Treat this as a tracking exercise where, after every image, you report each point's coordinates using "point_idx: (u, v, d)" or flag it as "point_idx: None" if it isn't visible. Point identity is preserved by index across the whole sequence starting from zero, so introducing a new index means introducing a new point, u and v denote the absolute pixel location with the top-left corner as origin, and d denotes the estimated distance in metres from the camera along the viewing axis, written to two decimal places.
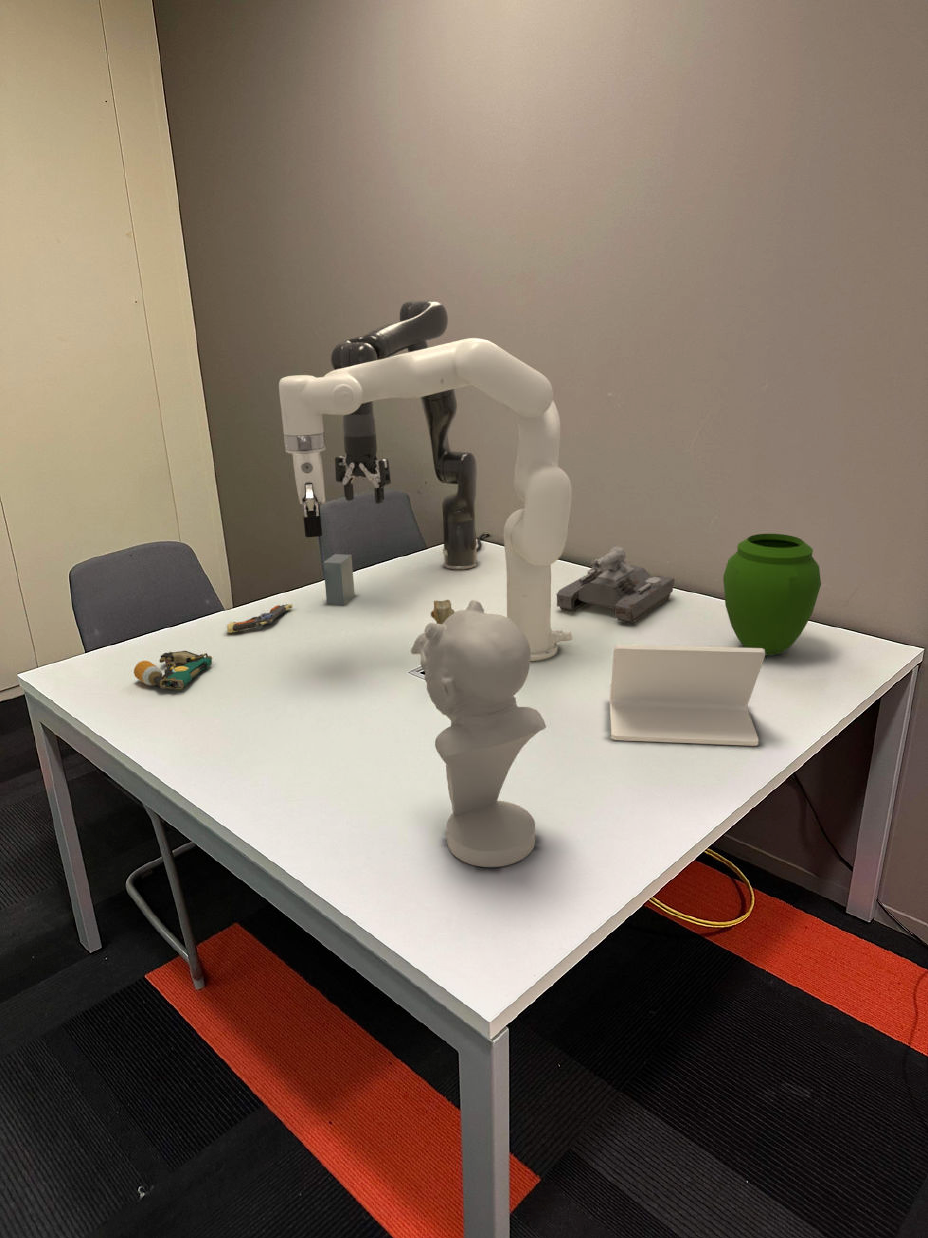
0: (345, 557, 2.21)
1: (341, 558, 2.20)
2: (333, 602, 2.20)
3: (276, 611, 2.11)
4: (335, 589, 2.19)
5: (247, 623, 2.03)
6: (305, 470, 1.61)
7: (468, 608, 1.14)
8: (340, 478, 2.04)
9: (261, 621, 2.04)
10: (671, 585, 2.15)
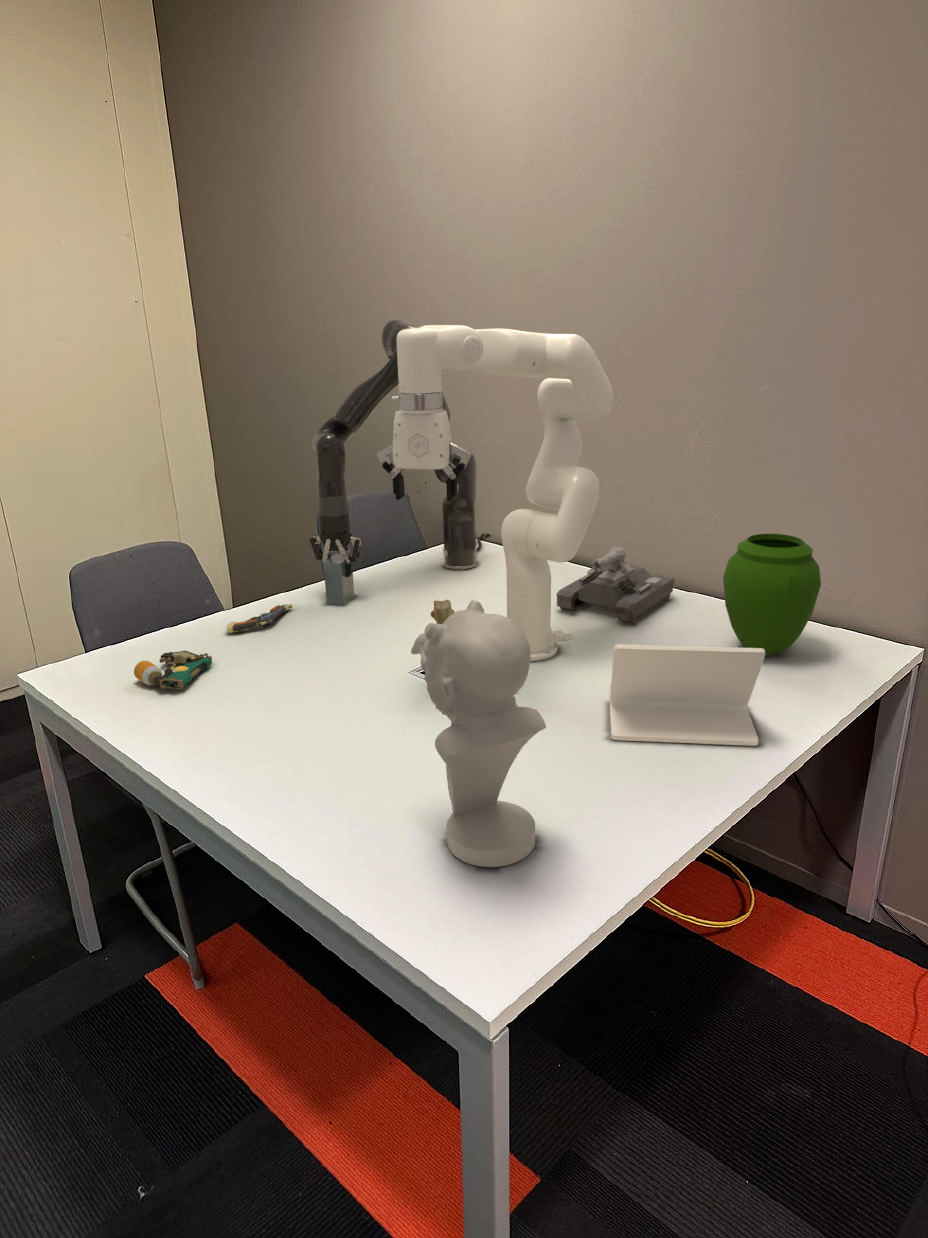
0: None
1: (340, 558, 2.20)
2: (333, 602, 2.20)
3: (276, 611, 2.11)
4: (335, 589, 2.19)
5: (247, 623, 2.03)
6: None
7: (468, 608, 1.14)
8: None
9: (261, 621, 2.04)
10: (671, 585, 2.15)
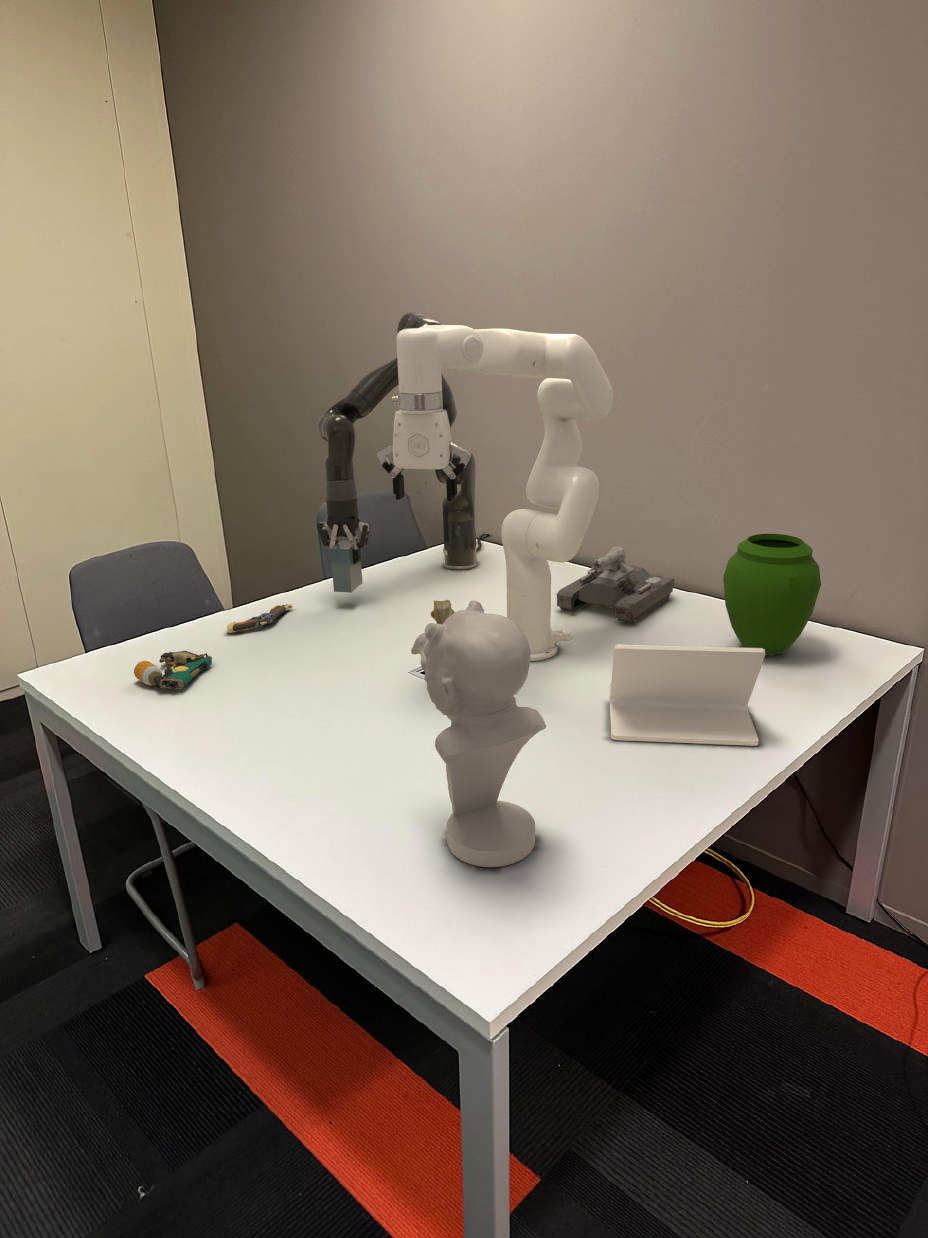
0: None
1: (348, 544, 2.15)
2: (340, 589, 2.15)
3: (276, 611, 2.11)
4: (342, 576, 2.13)
5: (247, 623, 2.03)
6: None
7: (468, 608, 1.14)
8: None
9: (261, 621, 2.04)
10: (671, 585, 2.15)
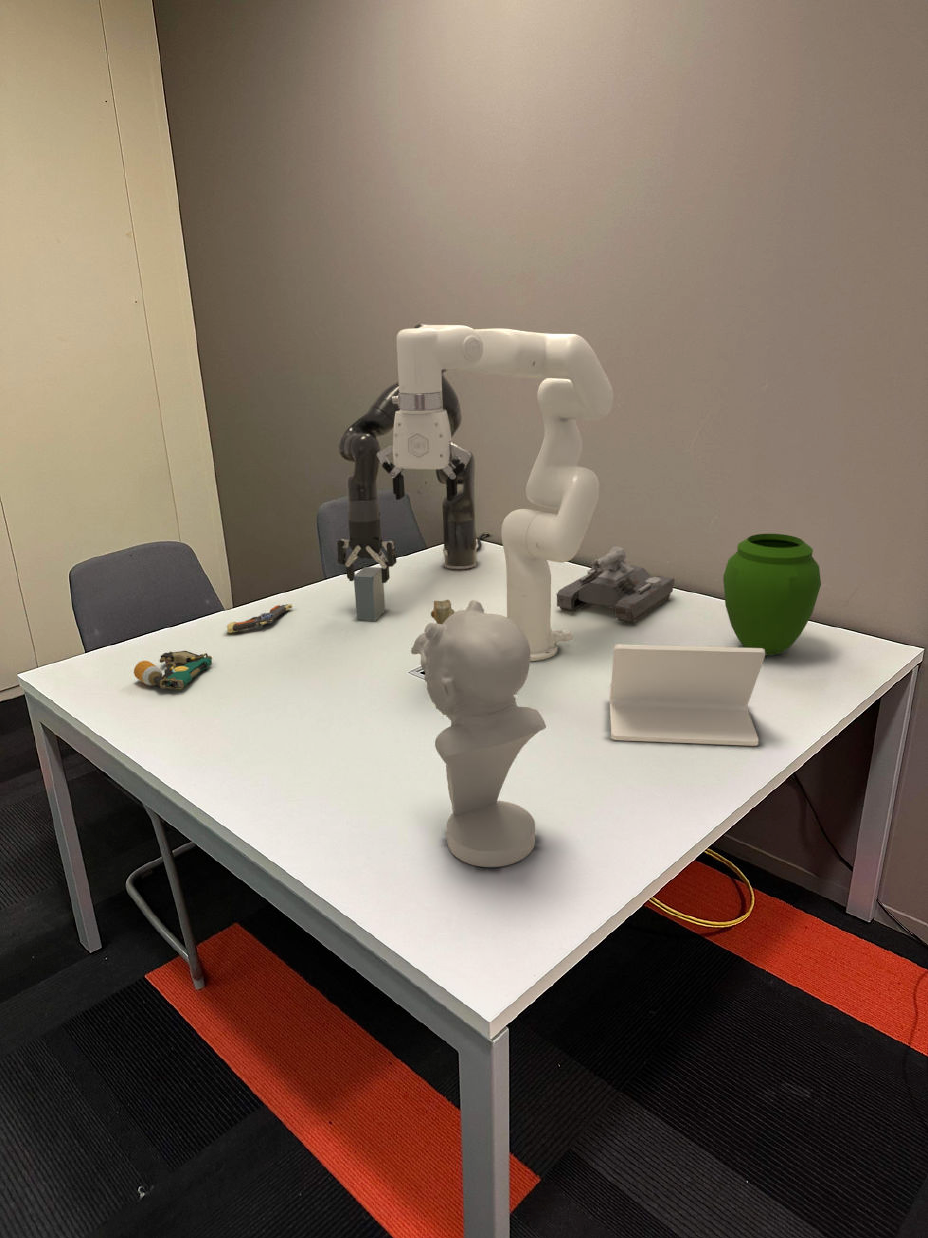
0: (376, 570, 2.09)
1: (371, 571, 2.09)
2: (364, 618, 2.09)
3: (276, 611, 2.11)
4: (365, 604, 2.07)
5: (247, 623, 2.03)
6: None
7: (468, 608, 1.14)
8: None
9: (261, 621, 2.04)
10: (671, 585, 2.15)
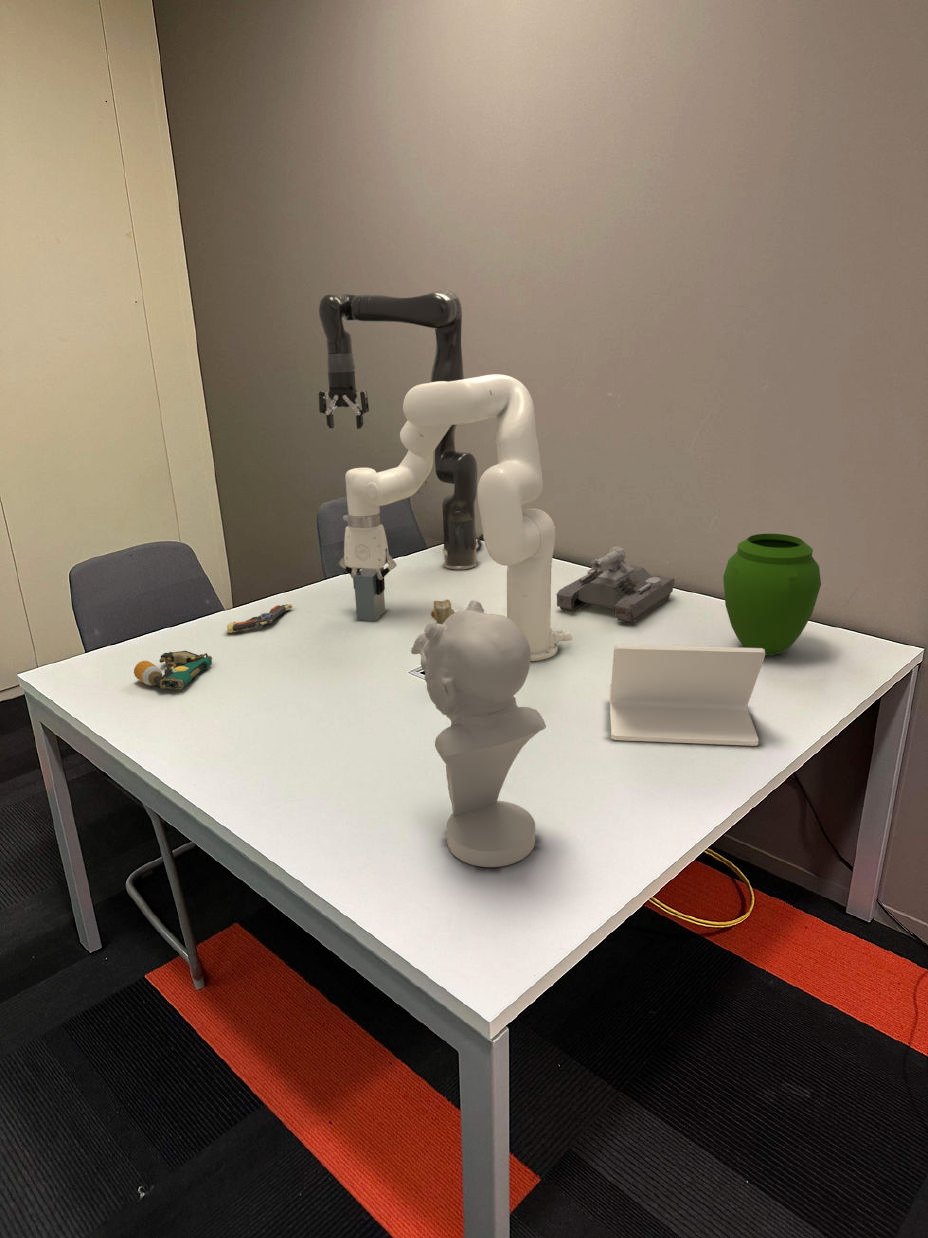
0: None
1: (371, 571, 2.09)
2: (364, 618, 2.09)
3: (276, 611, 2.11)
4: (366, 604, 2.07)
5: (247, 623, 2.03)
6: None
7: (468, 608, 1.14)
8: None
9: (261, 621, 2.04)
10: (671, 585, 2.15)
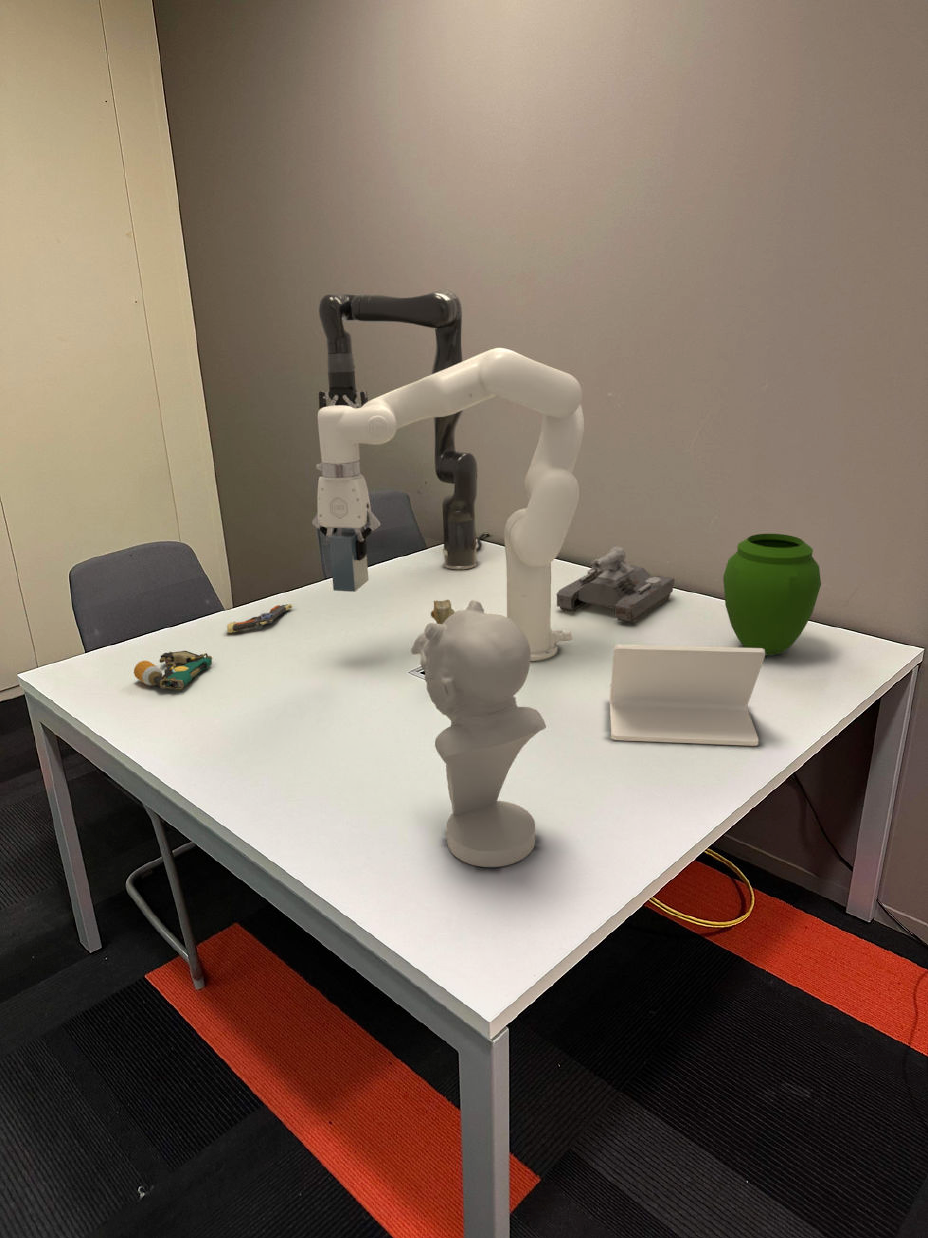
0: None
1: (351, 532, 1.74)
2: (341, 588, 1.75)
3: (276, 611, 2.11)
4: (343, 571, 1.73)
5: (247, 623, 2.03)
6: None
7: (468, 608, 1.14)
8: None
9: (261, 621, 2.04)
10: (671, 585, 2.15)
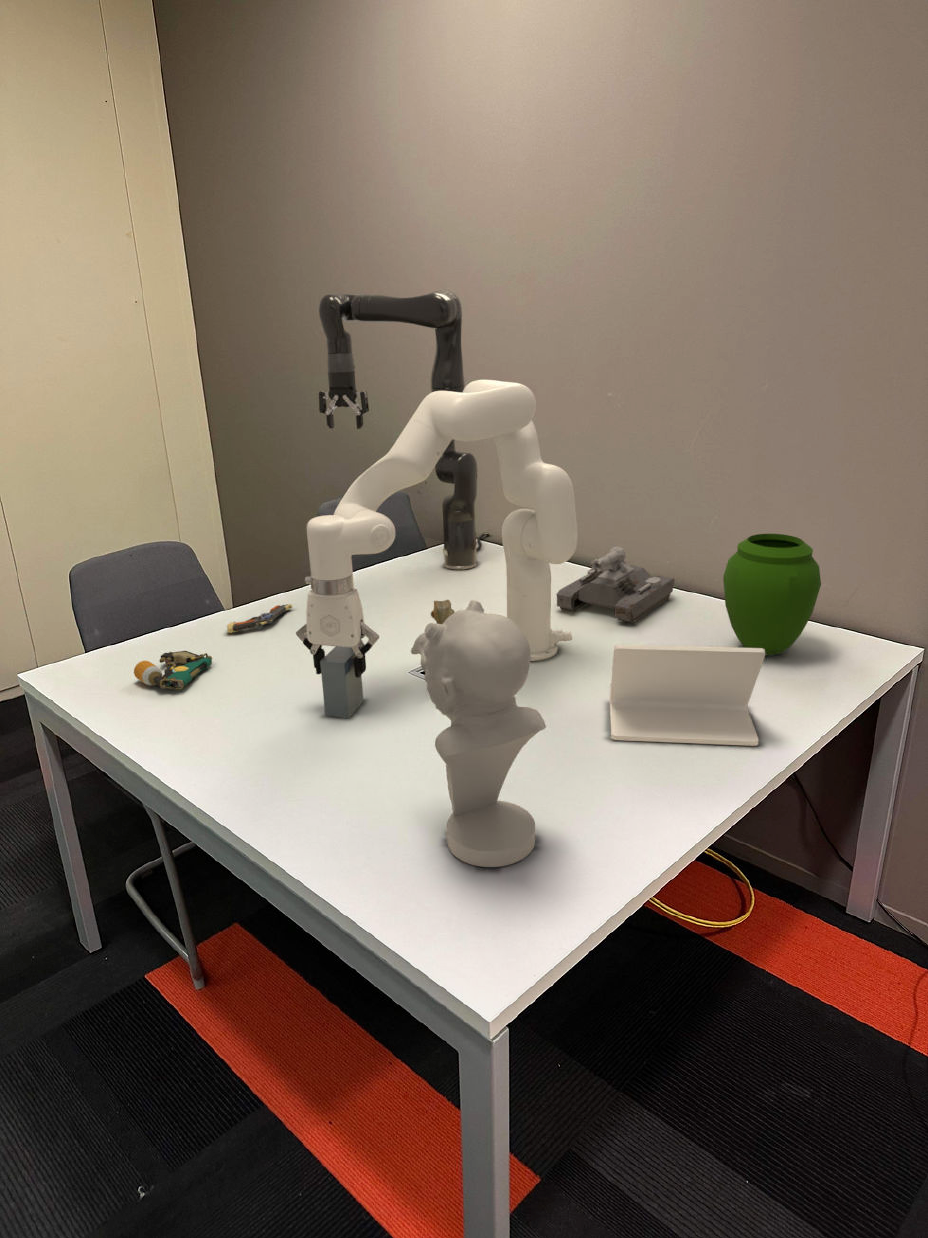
0: (351, 652, 1.61)
1: (344, 653, 1.61)
2: (334, 713, 1.61)
3: (276, 611, 2.11)
4: (336, 697, 1.59)
5: (247, 623, 2.03)
6: None
7: (468, 608, 1.14)
8: None
9: (261, 621, 2.04)
10: (671, 585, 2.15)
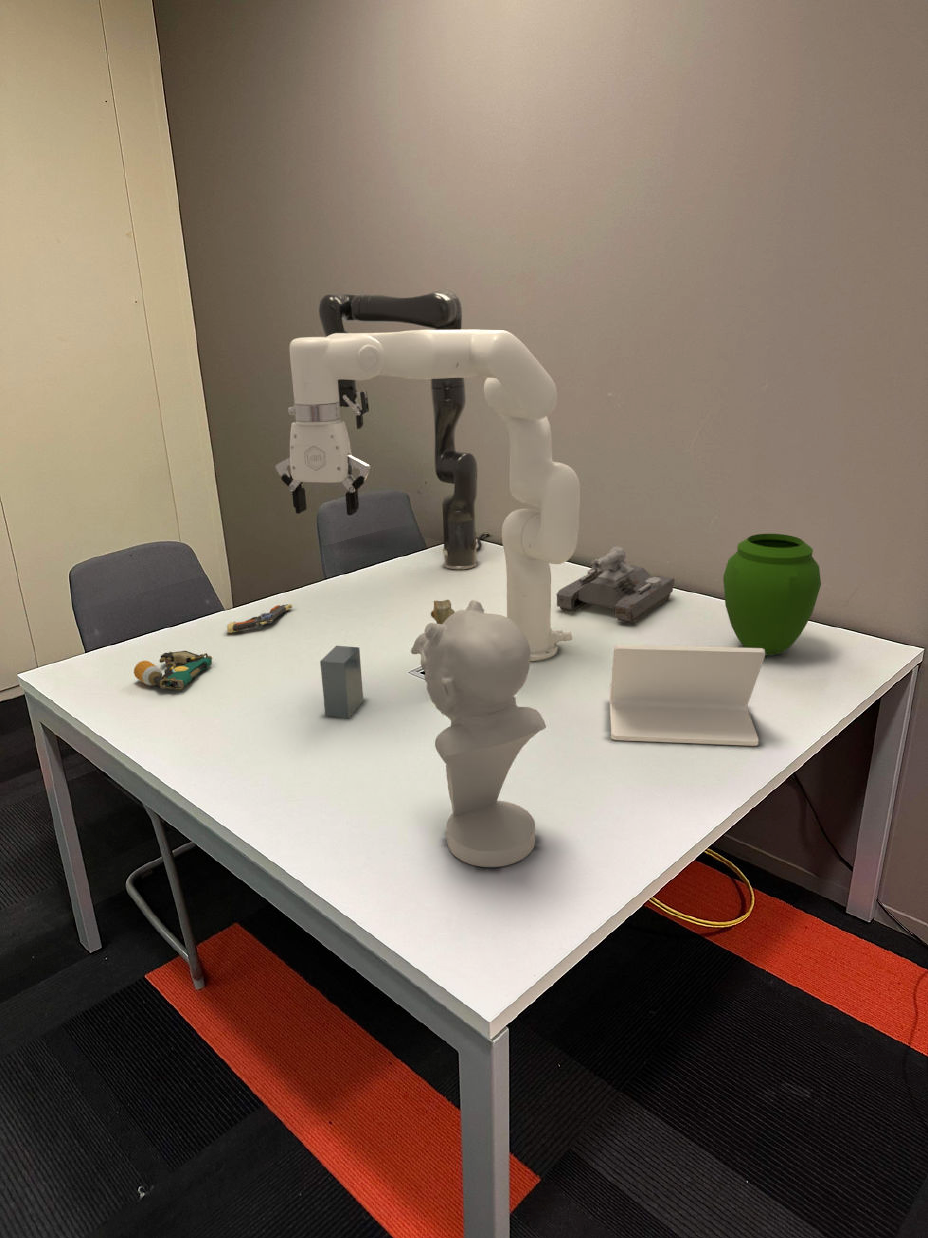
0: (351, 652, 1.61)
1: (344, 653, 1.61)
2: (334, 713, 1.61)
3: (276, 611, 2.11)
4: (336, 697, 1.59)
5: (247, 623, 2.03)
6: None
7: (468, 608, 1.14)
8: None
9: (261, 621, 2.04)
10: (671, 585, 2.15)
